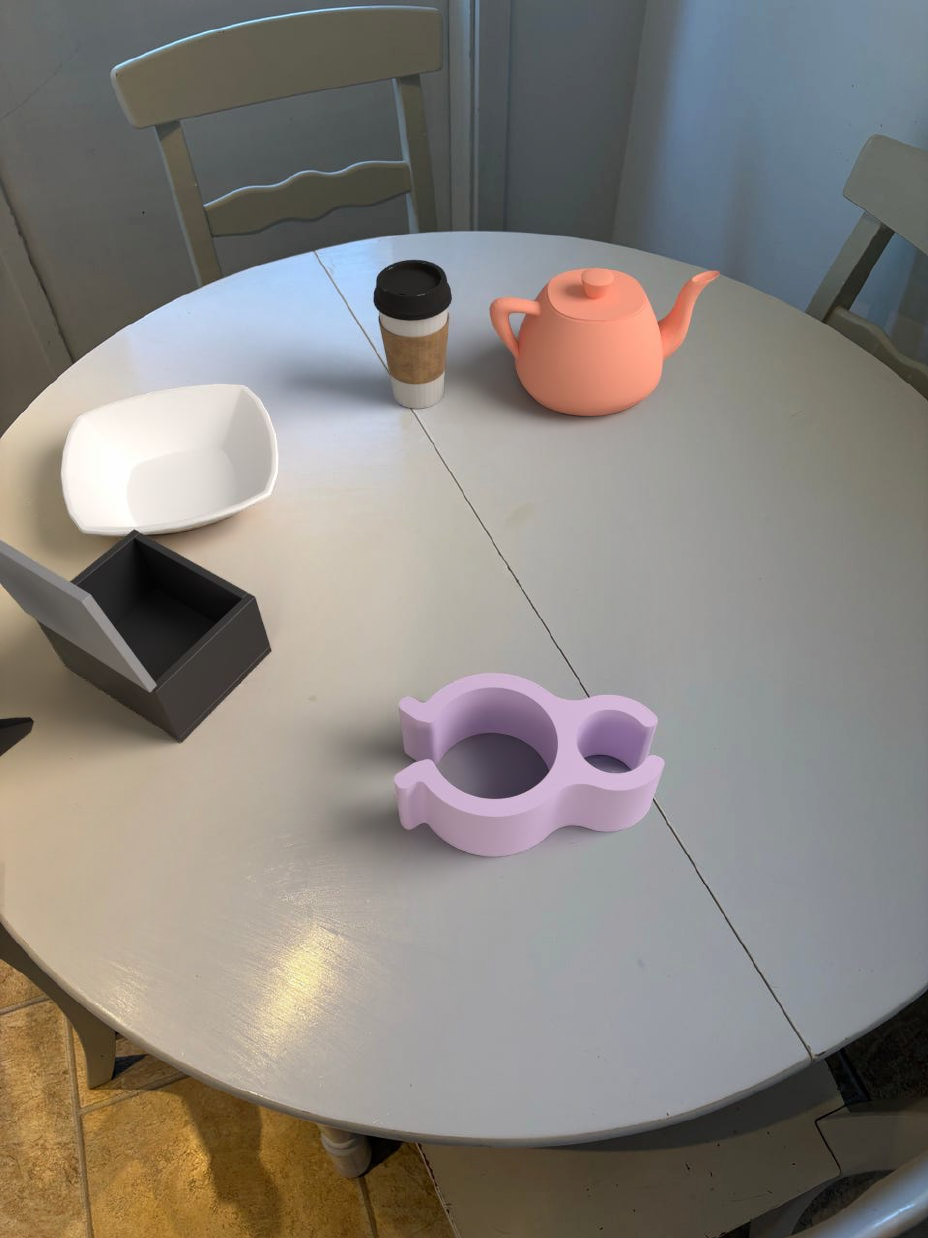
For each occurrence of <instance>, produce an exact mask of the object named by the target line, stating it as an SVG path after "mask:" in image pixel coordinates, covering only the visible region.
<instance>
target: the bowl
mask: <svg viewBox="0 0 928 1238" xmlns="http://www.w3.org/2000/svg"><path fill="white" fill-rule="evenodd" d="M273 425H274V424H273V423H272V420H271V417H270V415H269V413H268V411H267V409H266V407H265V405H264V403H263V402H262V400H261V399H260V398H259V396H257V395H256V393H254V392H253V391H252V390H251V389H250V388H249V387H247V386H246V385H243V384H231V383H230V384H229V383H212V384H200V385H199V384H198V385H187V386H180V387H174V388H165V389H159V390H156V391H155V390H154V391H150V392H145V393H141V394H136V395H133V396H129V397H126V398H123V399H118V400H115V401H112V402H107V403H104V404H101V405H99V406H96V407H95V408H92V409H90V410H88V411H86V412H83V413H81V414H79V415H78V416H77V417H76V419H75V420H74V422H73V424H72V426H71V427H70V429H69V431H68V433H67V434H66V438H65V441H64V445H63V448H62V454H61V464H60V471H59V474H60V475H59V476H60V484H61V492H62V498H63V501H64V504H65V508H66V510H67V511H66V512H67V514H68V516H69V517H70V519H71V520H72V522H73V523H74V525H75V526H76V527H77V528H78V530H79V531H80V532H81V533H82V534H85V535H88V536H89V535H90V536H103V537H104V536H105V537H125V536H126V535H127V534H129V533H130V532H131V531H132V530H134V529H135V530H137V531H138V532H140V533H142V534H144V535H145V536H149V535H151V536H152V535H163V534H175V533H176V534H177V533H181V532H188V531H192V530H197V529H200V528H204V527H206V526H210V525H212V524H215V523H218V522H221V521H224V520H227V519H228V518H231V517H233V516H235V515H237V514H239V513H241V512H243V511H244V510H247V509H248V508H250V507H252V506H254V505H256V504H258V503H260V502H262V501H263V500H265V499H267V498H269V497H270V496H271V494H272V493H273V490H274V487H275V484H276V481H277V478H278V476H279V457H280V455H279V448H278V441H277V440H278V439H277V434H276V431H275V428H274V426H273Z"/></svg>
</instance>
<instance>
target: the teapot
mask: <svg viewBox="0 0 928 1238" xmlns="http://www.w3.org/2000/svg"><path fill="white" fill-rule="evenodd" d="M720 274H721V273H720V270H707V271H703V272H701V273H698V274H696V275H694V276H692V277H691V278H689V280H688V281H686V282H685V284H684V285H683V286H682V287H681V289H680V290H679V293H678V295H677V297H676V300H675V302H674V304H673V307H672V308H671V310H670V311H669V312H668V314H666V315H665V316H664V317H663V318H661V319H660V320H657V316H656V314H655V311H654V309H653V307H652V305H651V302H650V300H649V297H648V296H647V294H646V292H645V290H644V288H643V286H642V285H641V283H639V281H638V280H637V279H635V278H634V277H633V276H632V275H630V274H628V273H626V272H622V271H619V270H615V269H609V268H602V267H590V268H578V269H572V270H568V271H564V272H562V273H559V274H557V275H555V276H553V277H552V278H551V279H549V280H548V282H546V284H545V285H544V286H543V287H542V289H541V290H540V291H539V293H538V294H537V296H536V297H535V298H534V300H533V299H532V300H531V299H527V298H521V297H514V296H501V297H498V298H496V299H494V300H493V301H492V302H491V303H490V305H489V311H488V312H489V317H490V321H491V322H490V323H491V325H492V327H493V329H494V330H495V332H496V334H497V335H498V337H499V338H500V340H501V341H502V343H503V344H504V345H505V346H506V348H507V349H508V350H509V351H510V352H511V354H512V355H513V357H514V366H515V371H516V373H517V376H518V378H519V381H520V382H521V384H522V386H523V387H524V389H525V390H526V391H527V392H528V394H529V395H530V396H531V397H532V398H533V399H534V400H535V401H536V402H537V403H538V404H540V405H541V406H543V407H545V408H546V409H549V410H552V411H553V412H556V413H561V414H565V415H572V416H578V417H579V416H580V417H581V416H582V417H597V416H606V415H612V414H616V413H620V412H622V411H625V410H628V409H631V408H633V407H634V406H635V405H637V404H639V403H640V402H642V401H643V400H645V399H646V398H647V397H648V396H650V395H651V394H652V393H653V392H654V390H655V389H656V388H657V386H658V385H659V383H660V381H661V378H662V372H663V365H664V364H663V363H664V361H665V360H666V359H668V358H669V357H670V356H672V355H673V354H674V353H675V352H676V351H677V350H678V349H679V348H680V347H681V346H682V344H683V342H684V341H685V338H686V336H687V334H688V331H689V327H690V323H691V319H692V316H693V315H692V314H693V310H694V308H695V303H696V301H697V299H698V297H699V295H700V294H701V292H702V291H703V290H704V289H705V287H706V286H707V285H709V284H710V283H712V281H714V280H715V279H716V278H718V277H719V276H720ZM512 314H523V315H524V317H523V319H522V321H521V324H520V328H519V331H518V334H517V338H516V335H515V334H514V332H513V329H512V326H511V322H510V316H511V315H512Z"/></svg>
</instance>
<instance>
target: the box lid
mask: <svg viewBox="0 0 928 1238" xmlns="http://www.w3.org/2000/svg"><path fill="white" fill-rule="evenodd" d="M0 585H1V587H3V589H4V590H5V591H6V593H8V594H9V595H10V597H11V598H12V599H13V600H14V601H15V603H17V605H18V606H19V607H20V608H21V610H22V611H23V612H24V613H25V614H26V615H28V616H30V617H32V618H33V619H35V621H36V620H38V621H39V622H41V623H42V624H44V625H45V626H47V627H49V628H50V629H52V630H53V631H55V632H56V633H58V634H59V635H61V636H63V637H64V638H66V639H67V640H69V641H70V642H72V643H73V644H75V645H77V646H78V647H80V648H81V649H83V650H84V651H86V652H87V653H89V654H91V655H92V656H94V657H95V658H97V659H98V660H100V661H101V662H103V663H105V664H106V665H108V666H109V667H111V668H112V669H114V670H115V671H117V672H119V673H120V674H122V675H123V676H125V677H126V678H128V679H129V680H131V681H133V682H134V683H136V684H137V685H139V686H140V687H142V688H143V689H145V690H147V691H148V692H151V691H152V690H153V689H154V688H155V687H156V686H157V685H156V683H155V682H154V680H153V679H152V678H151V676H150V675H149V674H148V672H147V671H146V670H145V668H144V667H143V665H142V664H141V663H140V661H139V660H138V659H137V657H136V656H135V655H134V653H133V652H132V650H131V649H130V648H129V646H128V645H127V644H126V642H125V641H124V640H123V638H122V637H121V635H120V634H119V633H118V631H117V630H116V629H115V627H114V626H113V625H112V623H111V622H110V620H109V619H108V618H107V616H106V615H105V614H104V612H103V611H102V610H101V608H100V607H99V606H98V604H97V603H96V601H95V600H94V599H93V597H92V596H91V595H90V594H89V593H87V592H86V591H84V590H82V589H81V588H79V587H77V586H76V585H74V584H72V583H71V582H70V581H69V580H67V579H66V578H64V577H63V576H61V575H59V574H58V573H56V572H55V571H53V570H51V569H49V568H48V567H46V566H44V565H43V564H41V563H40V562H38V561H36V560H35V559H33V558H32V557H30V556H28V555H27V554H25V553H23V552H22V551H20V550H18V549H16V548H15V547H13V546H11V545H10V544H8V543H6V542H5V541H3V540H2V539H0Z"/></svg>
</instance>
